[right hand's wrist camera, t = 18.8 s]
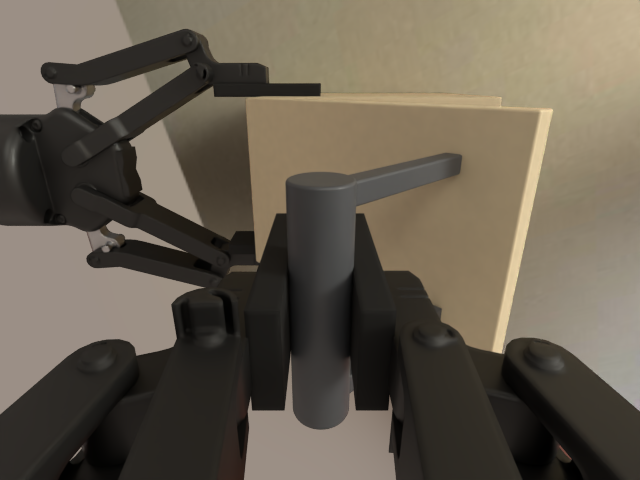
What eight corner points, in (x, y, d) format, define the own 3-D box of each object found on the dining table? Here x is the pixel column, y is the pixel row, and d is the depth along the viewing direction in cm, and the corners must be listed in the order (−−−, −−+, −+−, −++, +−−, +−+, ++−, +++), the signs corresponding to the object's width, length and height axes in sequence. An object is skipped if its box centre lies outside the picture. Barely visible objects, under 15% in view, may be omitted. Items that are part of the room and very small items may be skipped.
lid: (554, 108, 12) (391, 129, 6) (499, 365, 16) (365, 519, 10) (261, 97, 22) (98, 102, 16) (270, 256, 26) (139, 303, 20)
